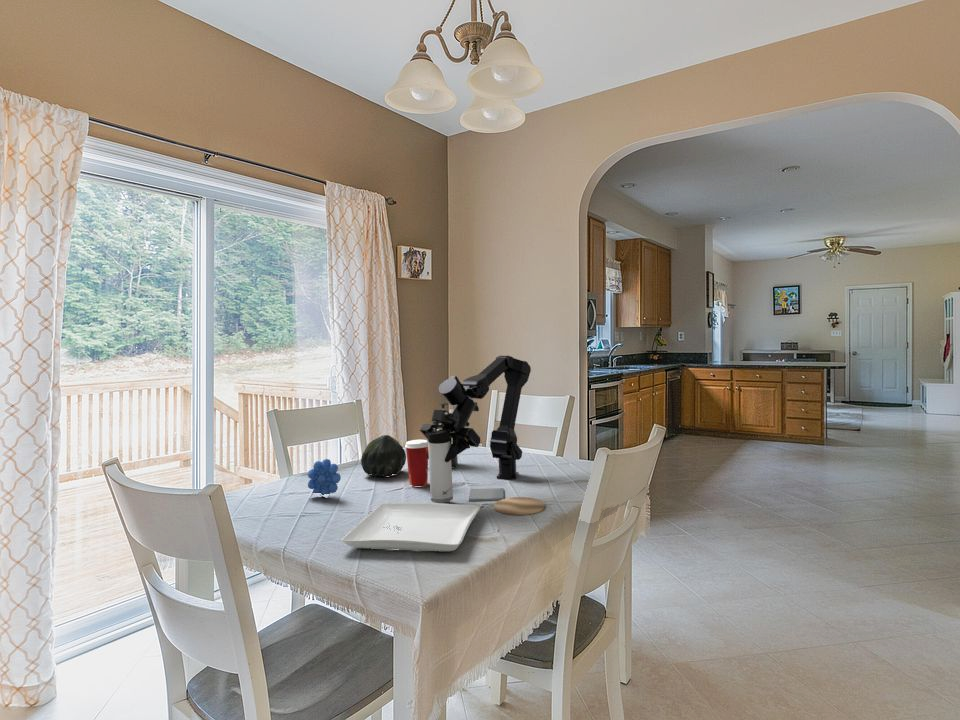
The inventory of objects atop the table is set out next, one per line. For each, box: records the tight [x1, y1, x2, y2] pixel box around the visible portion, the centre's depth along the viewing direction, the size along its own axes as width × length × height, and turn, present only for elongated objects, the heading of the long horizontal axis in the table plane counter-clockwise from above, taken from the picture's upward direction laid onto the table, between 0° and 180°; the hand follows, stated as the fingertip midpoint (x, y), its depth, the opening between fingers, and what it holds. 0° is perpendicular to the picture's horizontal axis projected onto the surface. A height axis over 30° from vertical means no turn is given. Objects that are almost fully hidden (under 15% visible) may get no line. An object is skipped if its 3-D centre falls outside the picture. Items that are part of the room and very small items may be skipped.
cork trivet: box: [493, 496, 546, 516], centre depth 145 cm, size 14×14×1 cm
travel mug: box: [427, 428, 454, 504], centre depth 149 cm, size 6×7×20 cm
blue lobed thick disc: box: [307, 458, 341, 495], centre depth 160 cm, size 12×7×12 cm, turn 69°
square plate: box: [340, 502, 481, 552], centre depth 128 cm, size 27×27×4 cm
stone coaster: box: [468, 487, 505, 502], centre depth 156 cm, size 10×10×1 cm
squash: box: [360, 434, 407, 477], centre depth 184 cm, size 14×15×15 cm
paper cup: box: [404, 439, 429, 487], centre depth 170 cm, size 8×8×14 cm
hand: (437, 460), depth 148 cm, fingers closed on travel mug, 6 cm apart
